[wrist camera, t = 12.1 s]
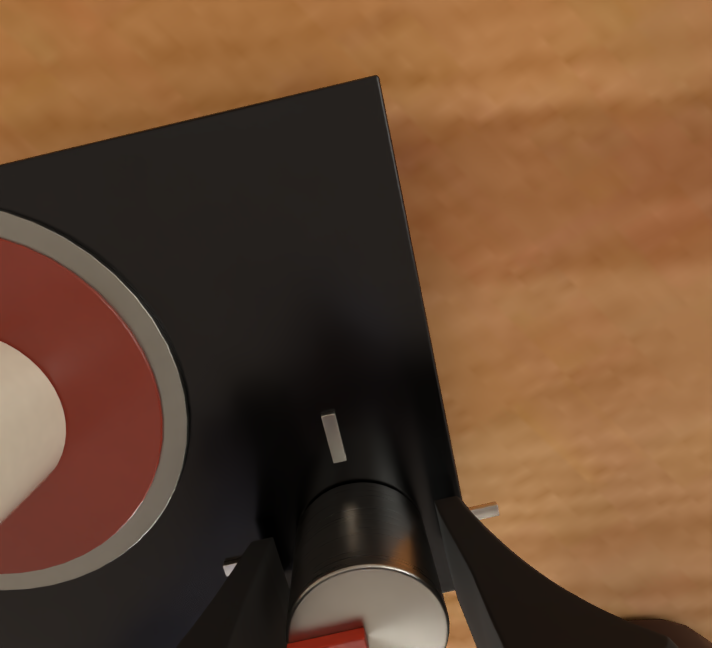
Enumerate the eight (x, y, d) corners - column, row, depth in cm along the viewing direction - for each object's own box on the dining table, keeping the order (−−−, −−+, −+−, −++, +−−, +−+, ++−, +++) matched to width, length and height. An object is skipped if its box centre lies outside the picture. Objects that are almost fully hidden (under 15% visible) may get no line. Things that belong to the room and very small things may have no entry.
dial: (411, 468, 14) (437, 559, 10) (435, 576, 15) (466, 693, 11) (281, 497, 14) (264, 598, 10) (313, 603, 15) (307, 728, 11)
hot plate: (400, 90, 14) (419, 62, 11) (486, 548, 18) (518, 621, 15) (-249, 245, 14) (-408, 259, 11) (-24, 662, 18) (-96, 756, 15)
